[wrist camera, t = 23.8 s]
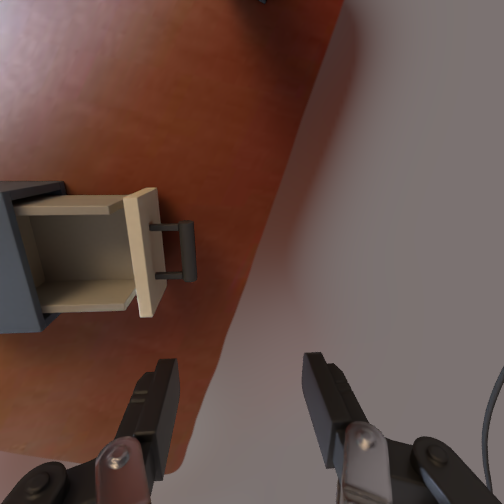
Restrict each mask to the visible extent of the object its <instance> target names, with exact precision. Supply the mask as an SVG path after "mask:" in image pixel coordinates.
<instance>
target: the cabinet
mask: <svg viewBox="0 0 504 504" xmlns="http://www.w3.org/2000/svg"><path fill="white" fill-rule="evenodd" d="M34 195H66V190H65V186H64V181H0V334H2V333H28V332H42V331H43V330H44V329H45V328H46V327H47V326H48V325H49V324H50V323H51V322H53V321H54V320H55V319H56V318H57V317H58V316H59V315H60V314H61V313H42V309H41V306H40V302H39V299H38V295H37V291H36V288H35V284H34V280H33V277H32V273H31V270H30V266H29V262H28V259H27V255H26V252H25V248H24V244H23V241H22V237H21V234H20V230H19V226H18V223H17V219H16V215H15V212H14V208H13V205H12V200H16V199H21V198H25V197H30V196H34Z"/></svg>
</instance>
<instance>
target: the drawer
mask: <svg viewBox="0 0 504 504" xmlns="http://www.w3.org/2000/svg"><path fill="white" fill-rule="evenodd" d="M12 205H13V208H14V212H15V215H16V219H17V223H18V226H19V230H20V234H21V237H22V241H23V244H24V248H25V252H26V255H27V259H28V262H29V266H30V270H31V273H32V277H33V280H34V284H35V288H36V291H37V295H38V299H39V302H40V306H41V309H42V313H64V312H94V311H124V310H126V309H127V307H128V306H129V304H130V303H131V301H132V300H133V298H134V296H135V295H136V293H137V299H138V306H139V313H140V317H153V315H154V313H155V311H156V308H157V306H158V304H159V302H160V300H161V298H162V296H163V293H164V291H165V289H166V287H167V279H183V280H184V281H185V282H194V281H196V280H197V267H196V251H195V236H194V222H193V221H190V220H184V221H180V222H179V223H170V224H161V221H160V212H159V202H158V192H157V188H144V189H142V190H140V191H137V192H135V193H133V194H130V195H34V196H30V197H25V198H21V199H16V200H12ZM162 231H179V235H180V247H181V259H182V271H183V272H166V269H165V260H164V250H163V240H162Z"/></svg>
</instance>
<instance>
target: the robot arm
mask: <svg viewBox="0 0 504 504" xmlns="http://www.w3.org/2000/svg"><path fill="white" fill-rule="evenodd" d="M503 383H504V367H503V369H502V371H501V373H500V375H499V377H498V379H497V381H496V383H495V386H494V388H493V391H492V394H491V396H490V399H489V402H488V405H487V409H486V413H485V417H484V423H483V430H482V456H483V466H484V472H485V477H486V484H487V487H486V486H485V485H484V484H483V482H481V480H480V479H479V478H478V477H477V476H476V475H475V474H474V473H473V472H472V471H471V469H470V468H469V467H468V466H467V465H466V464H465V463H464V462H463V461H462V460H461V459H460V457H459V456H458V455H457V454H456V453H455V452H454V451H453V450H452V449H451V448H450V447H449V446H447V445H446V444H445V443H443V442H441V441H439V440H437V439H434V438H432V437H419V438H417V439H416V440H415V441H414V444H413V445H409V444H405V443H401V442H397V441H393V440H390V439H387V438H385V437H384V435H383V434H382V433H381V431H379V429H377V428H376V427H375V426H373V425H371V424H369V422H368V420H367V418H366V416H365V414H364V412H363V411H362V409H361V407H360V405H359V403H358V401H357V399H356V397H355V395H354V393H353V391H352V390H351V387H350V385H349V383H347V379H346V378H345V376H344V374H343V372H342V371H341V370H340V369H339V368H338V367H337V366H336V365H335V364H334V363H332V364H327V363H326V361H325V359H324V357H323V355H322V353H321V352H312V353H304V357H303V370H302V389H303V394H304V397H305V401H306V404H307V407H308V410H309V414H310V417H311V420H312V423H313V427H314V430H315V433H316V437H317V440H318V443H319V447H320V450H321V453H322V456H323V460H324V463H325V466H326V469H329V468H335V470H336V473H337V476H338V482H337V492H336V504H502V503H501V502H500V501H499V500H498V499H497V498H496V497H495V496H494V495H493V492H492V483H491V476H490V471H489V464H488V446H487V441H488V430H489V424H490V420H491V415H492V412H493V408H494V405H495V402H496V400H497V397H498V394H499V392H500V390H501V387H502V385H503ZM179 396H180V382H179V373H178V363H177V359H176V358H175V359H159V361H158V363H157V366H156V369H155V372H146V373H145V374H144V375H143V376H142V377H141V378H140V379H139V381H138V382H137V384H136V386H135V389H134V391H133V395H132V396H131V399H130V403H129V404H128V406H127V409H126V411H125V414H124V416H123V419H122V421H121V424H120V426H119V429H118V431H117V434H116V436H115V438H114V440H113V441H111V442H110V443H109V444H107V445H106V446H105V447H104V448H103V449H102V450H101V452H100V453H99V455H98V457H96V458H95V459H93V460H91V461H89V462H86V463H83V464H81V465H78V466H75V467H73V468H70V469H67V470H66V468H65V467H64V465H63V464H62V463H60V462H47V463H44V464H42V465H40V466H37V467H36V468H34V469H32V470H31V471H29V472H28V473H27V474H26V475H25V476H24V477H23V478H22V479H21V480H20V481H19V482H18V483H17V484H16V486H15V487H14V488H13V490H12V491H11V492H10V493H9V495H8V496H7V497H6V498H5V500H4V501H3V502H2V503H1V504H151V499H150V496H151V492H152V488H153V483H154V481H162V480H163V476H164V471H165V467H166V462H167V457H168V452H169V447H170V442H171V437H172V432H173V427H174V422H175V418H176V413H177V408H178V403H179Z"/></svg>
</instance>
